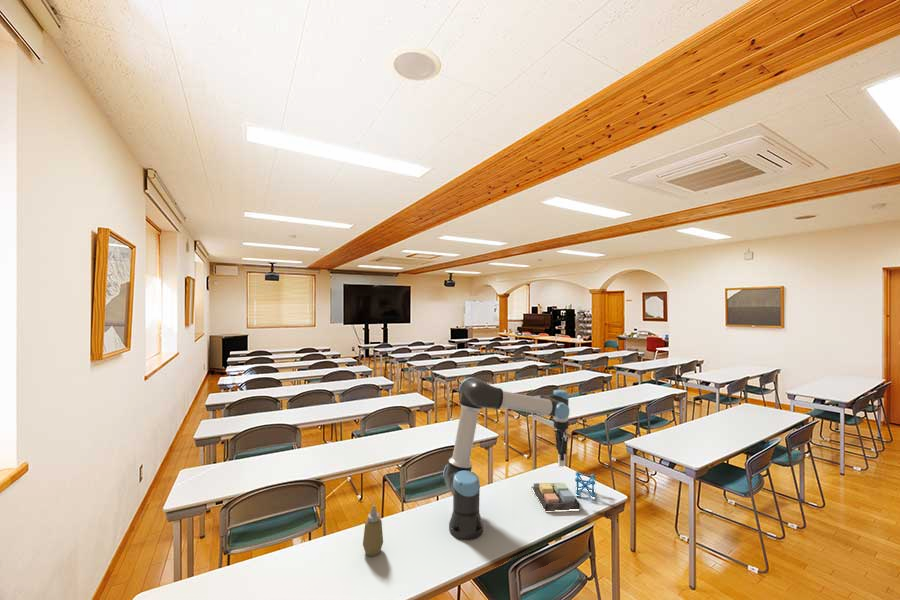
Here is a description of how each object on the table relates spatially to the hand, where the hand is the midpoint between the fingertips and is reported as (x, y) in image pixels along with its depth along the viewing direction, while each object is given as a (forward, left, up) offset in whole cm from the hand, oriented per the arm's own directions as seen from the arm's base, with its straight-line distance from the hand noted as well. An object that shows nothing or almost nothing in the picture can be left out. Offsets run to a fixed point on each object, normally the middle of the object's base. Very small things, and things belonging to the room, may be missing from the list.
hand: (561, 465), depth 190 cm
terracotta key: (-8, -8, -15) cm, 18 cm away
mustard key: (-8, 0, -13) cm, 16 cm away
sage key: (0, 0, -13) cm, 13 cm away
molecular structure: (+14, +3, -17) cm, 23 cm away
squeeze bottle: (-92, -38, -17) cm, 101 cm away
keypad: (-4, -1, -17) cm, 17 cm away
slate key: (0, -8, -13) cm, 15 cm away
